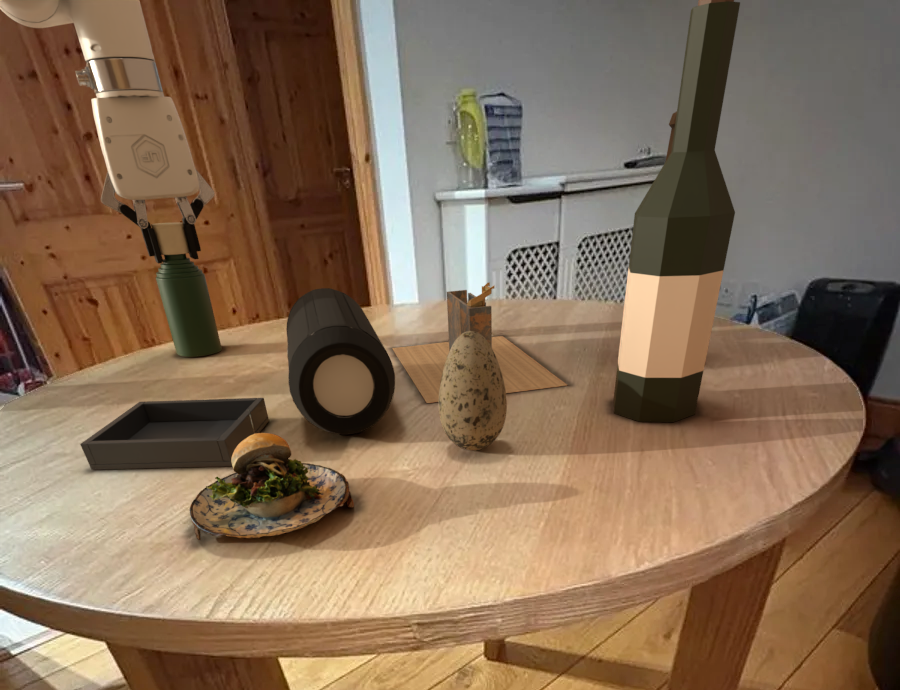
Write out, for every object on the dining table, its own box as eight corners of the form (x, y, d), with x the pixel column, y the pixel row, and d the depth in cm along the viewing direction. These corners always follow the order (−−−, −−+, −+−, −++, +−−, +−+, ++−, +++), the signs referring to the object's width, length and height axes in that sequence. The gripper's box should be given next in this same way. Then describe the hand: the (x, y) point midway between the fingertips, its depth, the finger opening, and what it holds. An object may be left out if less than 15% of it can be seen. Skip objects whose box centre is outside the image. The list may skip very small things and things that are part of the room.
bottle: (169, 357, 86) (133, 232, 77) (187, 346, 91) (155, 228, 82) (212, 356, 85) (181, 231, 76) (228, 346, 90) (201, 227, 81)
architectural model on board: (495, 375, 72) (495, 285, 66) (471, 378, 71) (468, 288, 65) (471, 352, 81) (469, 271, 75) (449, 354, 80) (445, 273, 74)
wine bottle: (682, 428, 56) (770, -32, 38) (597, 415, 59) (640, -8, 41) (705, 401, 61) (792, -12, 43) (626, 390, 65) (675, 7, 47)
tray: (91, 469, 55) (79, 444, 53) (147, 424, 64) (139, 401, 62) (232, 466, 54) (224, 439, 52) (269, 421, 63) (263, 397, 61)
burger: (171, 560, 41) (131, 458, 37) (222, 484, 51) (195, 396, 46) (342, 552, 41) (323, 449, 36) (362, 477, 50) (348, 388, 46)
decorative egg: (519, 450, 53) (522, 331, 47) (464, 467, 51) (459, 344, 45) (482, 430, 58) (480, 319, 52) (429, 446, 55) (420, 331, 49)
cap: (171, 251, 83) (163, 222, 81) (196, 251, 82) (189, 222, 80) (152, 254, 79) (144, 224, 77) (178, 255, 79) (170, 224, 77)
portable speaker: (295, 375, 76) (278, 288, 70) (372, 366, 77) (361, 280, 71) (301, 451, 56) (277, 337, 50) (404, 437, 57) (393, 325, 51)
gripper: (47, 80, 64) (113, 270, 75) (205, 79, 70) (244, 256, 81) (48, 87, 70) (109, 264, 81) (194, 86, 76) (233, 251, 87)
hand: (176, 258), depth 81 cm, fingers closed on cap, 4 cm apart
